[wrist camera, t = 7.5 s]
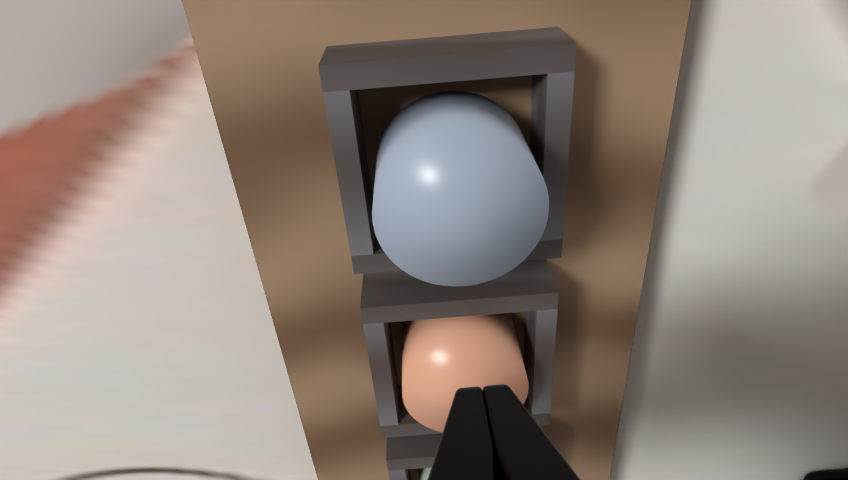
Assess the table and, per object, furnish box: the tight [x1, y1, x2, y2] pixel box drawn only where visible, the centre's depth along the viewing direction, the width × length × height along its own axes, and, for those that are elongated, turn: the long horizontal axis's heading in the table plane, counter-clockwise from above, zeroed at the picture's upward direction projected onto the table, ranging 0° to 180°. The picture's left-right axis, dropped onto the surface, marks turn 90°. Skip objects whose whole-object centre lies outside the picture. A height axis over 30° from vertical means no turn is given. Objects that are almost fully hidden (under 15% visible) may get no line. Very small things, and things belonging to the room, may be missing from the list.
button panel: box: [182, 0, 691, 480], centre depth 22 cm, size 26×14×4 cm, turn 4°
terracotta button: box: [402, 313, 529, 432], centre depth 21 cm, size 4×4×3 cm
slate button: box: [372, 91, 549, 287], centre depth 15 cm, size 4×4×3 cm
